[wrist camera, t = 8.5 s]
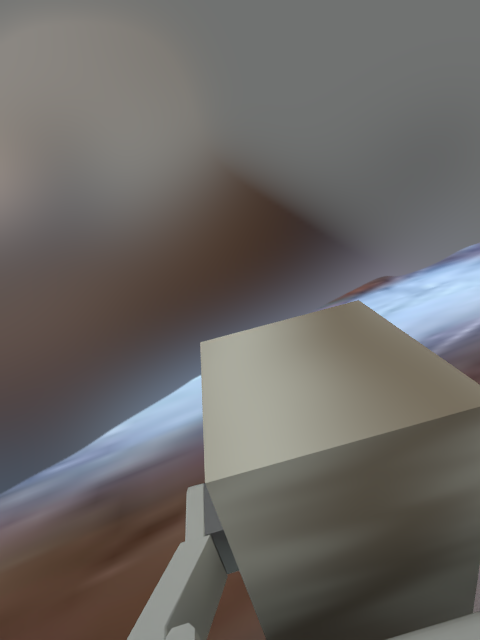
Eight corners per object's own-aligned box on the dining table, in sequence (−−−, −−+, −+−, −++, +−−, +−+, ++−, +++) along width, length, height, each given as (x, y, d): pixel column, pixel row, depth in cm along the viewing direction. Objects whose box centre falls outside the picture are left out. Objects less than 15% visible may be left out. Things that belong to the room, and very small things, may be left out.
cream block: (298, 722, 9) (205, 482, 5) (264, 543, 14) (200, 342, 10) (464, 672, 9) (501, 400, 5) (375, 511, 14) (358, 300, 10)
